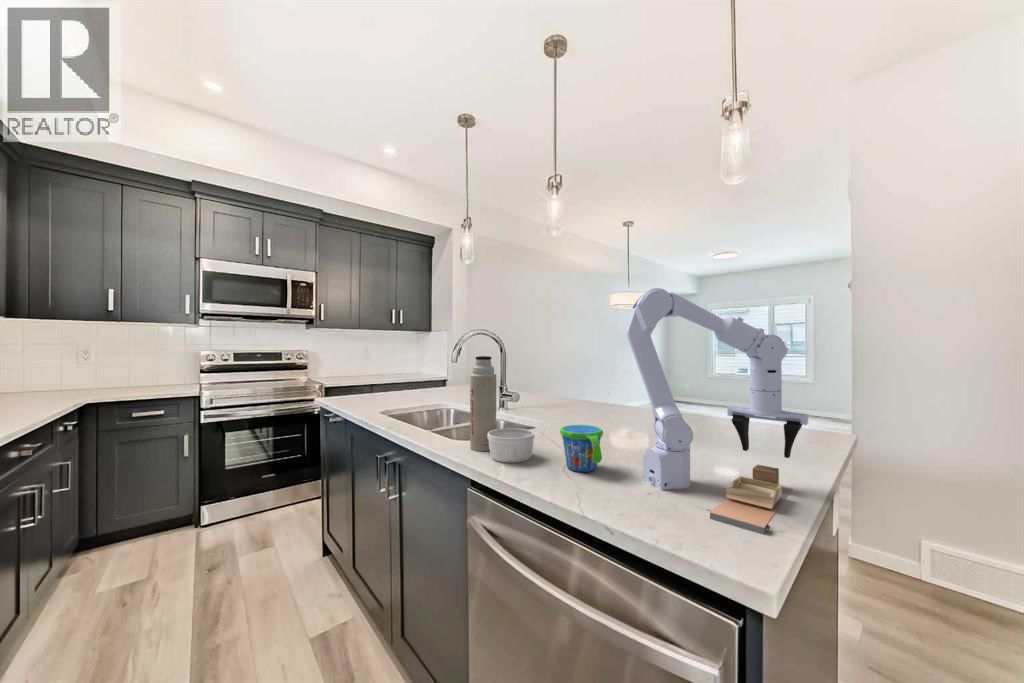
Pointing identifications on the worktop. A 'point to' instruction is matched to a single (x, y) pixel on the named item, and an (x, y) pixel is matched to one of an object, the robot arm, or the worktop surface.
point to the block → (766, 474)
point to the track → (747, 513)
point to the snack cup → (582, 447)
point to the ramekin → (510, 444)
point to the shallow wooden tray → (754, 492)
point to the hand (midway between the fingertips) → (765, 453)
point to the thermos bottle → (482, 403)
